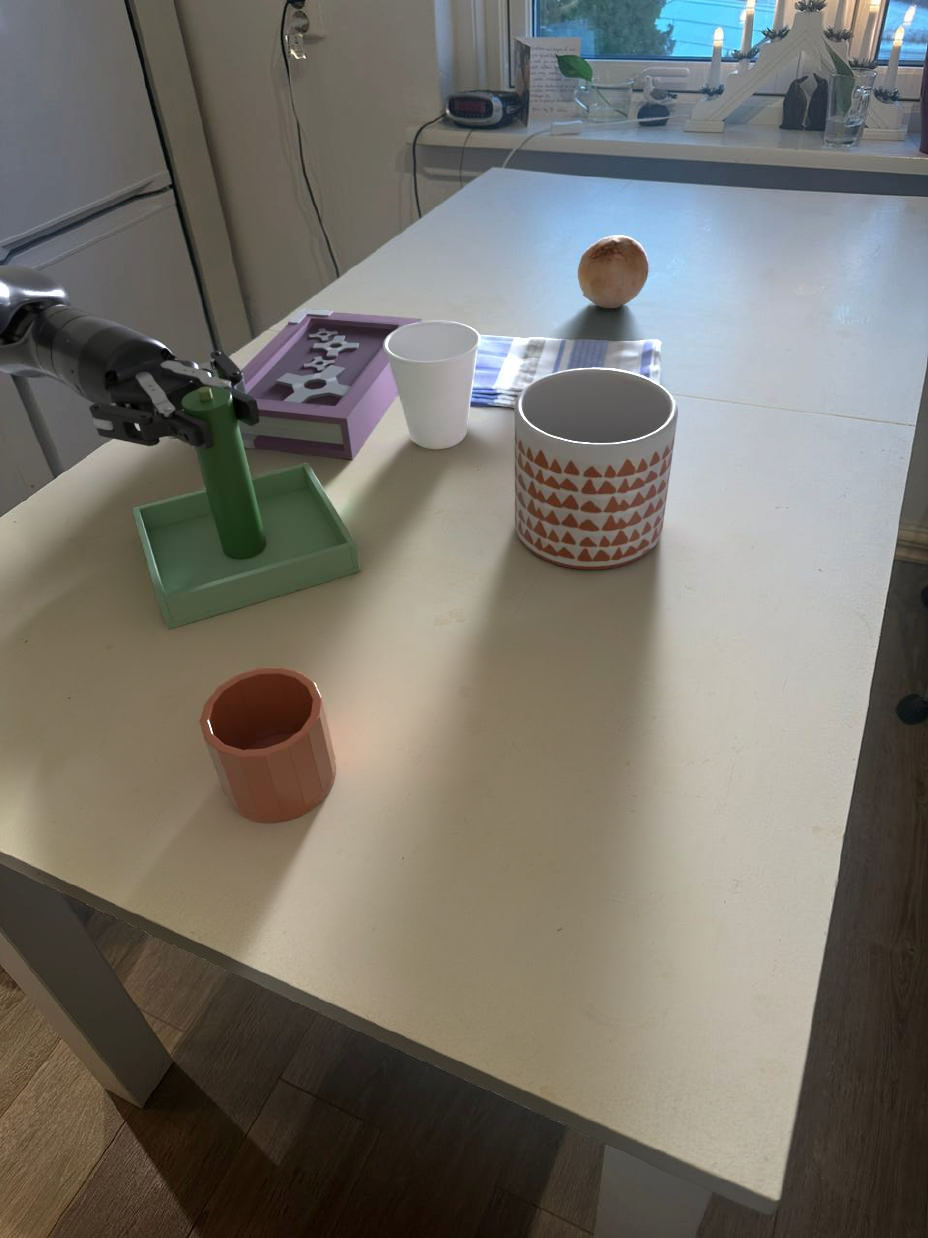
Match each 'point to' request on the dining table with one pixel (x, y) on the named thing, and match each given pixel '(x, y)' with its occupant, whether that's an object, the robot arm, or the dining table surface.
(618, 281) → the onion
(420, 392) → the cup
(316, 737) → the crock
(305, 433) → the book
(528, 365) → the dish towel
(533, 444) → the planter
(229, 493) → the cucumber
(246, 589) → the tray
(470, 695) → the dining table surface
